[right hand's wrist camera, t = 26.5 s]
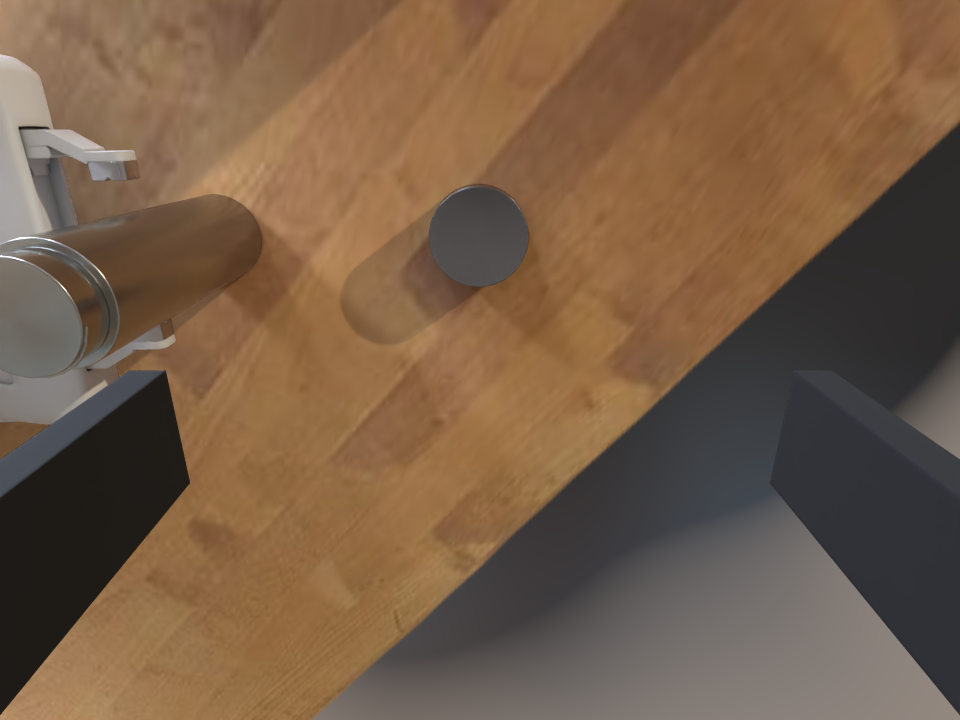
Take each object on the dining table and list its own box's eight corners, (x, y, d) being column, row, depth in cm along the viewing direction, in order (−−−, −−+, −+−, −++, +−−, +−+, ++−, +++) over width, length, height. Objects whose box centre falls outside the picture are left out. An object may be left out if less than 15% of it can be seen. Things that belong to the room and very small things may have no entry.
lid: (534, 192, 38) (537, 195, 36) (516, 286, 40) (518, 293, 38) (438, 176, 37) (435, 178, 35) (425, 272, 40) (423, 279, 38)
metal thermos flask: (175, 266, 39) (-57, 368, 22) (181, 184, 38) (-68, 227, 20) (257, 286, 40) (91, 401, 23) (267, 206, 38) (94, 267, 21)
